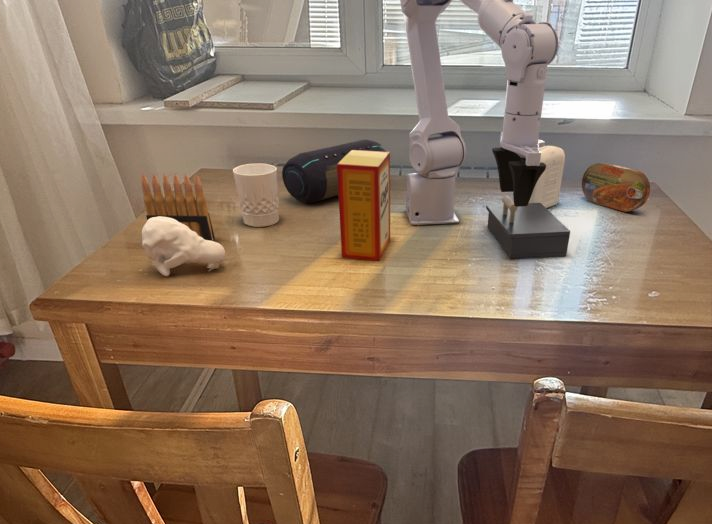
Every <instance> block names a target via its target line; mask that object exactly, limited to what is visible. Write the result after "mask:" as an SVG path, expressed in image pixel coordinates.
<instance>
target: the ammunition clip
mask: <svg viewBox="0 0 712 524" xmlns="http://www.w3.org/2000/svg"><path fill="white" fill-rule="evenodd" d="M193 179H194V180H193V183H194V191H193V186H192V183H191V180H190V178H189V176H188V175H187V173H185V174H184V176H183V187H184V192H183V189H182V184H181V181H180V180H179V177H178V175H177V174H176V173H174V174H173V179H172V183H173V190H174V192H173V190H172V185H171V183H170V180H169V178H168V176H167V175H166V173H163V175H162V186H163V191H162V188H161V186H160V182H159V180H158V177H157V176H156V174H155V173H152V176H151V184H152V190H151V188H150V183H149V181H148V178H147V176H146V175H145V173H141V177H140V180H141V181H140V183H141V189H142V195H143V197H142V198H143V203H144V207H145V212H146V221H147V220H148V219H150V218H152V217H158V216H162V217H169V218H173V219H175V220H177V221H178V222H180V223H182V224H184V225H186V226H187V227H189V229H190V230H192V231H194V232H196V233H197V234H198V236H200V237H202V238H203V239H205V240H210V241H214V242H215V240H216V237H215V232H214V228H213V224H212V220H211V215H210V212H209V209H208V204H207V199H206V196H205V193H204V190H203V185H202V181H201V179H200V177H199V176H198V174H197V173H195V174H194V178H193ZM152 192H153V193H152ZM163 193H164V195H163ZM194 193H195V195H194Z"/></svg>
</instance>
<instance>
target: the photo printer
mask: <svg viewBox="0 0 712 524" xmlns="http://www.w3.org/2000/svg"><path fill="white" fill-rule="evenodd" d="M539 151H540V152H541V159H540V163H544V164H546V169H545V171H544V172H543V173H542V175H541V176H540V178H539V179H538V181H537V183H536V185H535V187H534V190H533V193H532V195H531V198H530V201H529V203H541V204H542V205H543V206H544V207H545V208H546V209H548V208H551V207H553V206H556V205H557V204H558V203H559V199H560V193H561V188H562V187H561V186H562V180H563V174H564V168H565V162H566V154H565V151H564V149H563V148H561V147H559V146H555V145H545V146H544V147H539Z"/></svg>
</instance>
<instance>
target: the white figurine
mask: <svg viewBox="0 0 712 524" xmlns="http://www.w3.org/2000/svg"><path fill="white" fill-rule="evenodd" d="M141 241H142V243H141V248H142V249H143V250H144V251H145V254H146V256H147V259H148V260H150V262H151V264H152V265H153V267H154V268H155V269H156V270H157V271H158V273H160V274H161V275H162V276H164V277H169V276H170V274H171V269H173V268H177V267H178V266H181V265H183V264H191V263H194V262H196V263H204V264H206V265H207V267H205V268H207V269H208V272H210V271H212V270H214V269H217V270H219V267H220V265H221V264H222V263H223V262H224V261H225V260H226V250H225V248H224V246H223V245H222V244H220V243H219V242H217V241H215V240H214V241H210V240H205V239H203V238H202V237H200V236H198V234H197V233H196V232H194V231H192V230H190V229H189V227H187V226H186V225H184V224H182V223H180V222H178V221H177V220H175V219H173V218H169V217H162V216H158V217H152V218H150V219H148V220H147V219H146V222H145V223H144V225H143V227H142V230H141Z"/></svg>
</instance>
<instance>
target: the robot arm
mask: <svg viewBox="0 0 712 524" xmlns="http://www.w3.org/2000/svg"><path fill="white" fill-rule="evenodd" d="M399 1H400V8H401V12H402V14H403V22H404V29H405V35H406V43H407V49H408V56H409V61H410V69H411V73H412V74H411V75H412V80H413V86H414V87H413V88H414V93H415V100H416V106H417V113H418V114H417V115H418V120H419V121H418V122H417V124H416V125H415V126H414V128H413V129H412V130H411V131H410V132H409V134H408V137H409V152H408V157H409V158H408V159H409V163H410V165H411V168H412V170H414V172H413V173H407V175H406V183H405V184H406V186H405V188H406V189H405V191H406V192H405V195H406V197H405V198H406V199H405V213H406V216H407V218H408V220H409V223H410V225H412V226H421V225H423V226H424V225H443V224H445V225H447V224H459V223H460V220H459V218H458V216H457V215H456V214H455V213H456V212H455V199H456V198H455V196H456V180H457V179H456V178H457V173H460V168H461V167H462V166H463V165H464V163H465V161H466V158H467V147H466V143H465V140H464V139H463V137H462V134H461V133H462V132H461V127H460V125H459V124H458V123H456V121H454V120H453V119H452V118H451V117H450V116H449V113H448V106H447V98H446V97H447V96H446V90H445V82H444V75H443V68H442V62H441V61H442V60H441V54H440V53H441V52H440V48H439V47H440V46H439V40H438V32H437V25H436V22H437V19H438V17H439V16H440V15H442V13H444V12H445V11H446V10H447V8H448V7H449V5H450V4H451V3H452V2H453V0H399ZM458 1H459V2H460V3H462V4H463V5H464V6H465V7H466V8H468V9H469V10H470V11H471V12H473V13H474V14H476V16H477V26H478V28H479V29H480V30H481V31H482V32H483V33H484V34H485V35H486V36H487V37H488V38H489V39H490V40H491V41H492V42H494V44H495V45H497V46H498V47H499V48H500V49H501V51H500V52H501V57H502V60H503V63H504V67H505V70H504V76H505V79H506V90H505V91H506V92H505V103H504V110H503V111H504V113H503V123H502V131H500V134H499V135H500V136H499V146H500V147H493V148H492V149H491V151H492V154H493V156H494V159H495V163H496V166H497V173H498V182H499V189H500V192H501V193H512V200H513V202H514V205H515V206H516V207H519V206H528V203H529V201H530V198H531V195H532V193H533V190H534V187H535V185H536V183H537V181H538V179H539V178H540V176H541V175H542V173H543V172H544V171H545V169H546V164H544V163H540V159H541V152H540V151H539V148H541V147H544V146H546V142H545V141H544V140H543V139H539V137H540V129H541V120H542V114H543V113H542V112H543V104H544V97H545V88H546V81H547V73H548V65H550V64H551V63H552V62H553V61H554V60H555V59H556V56H557V54H558V50H559V36H558V32H557V30H556V29H555V28H554V27H553V25H552V23H550V22H549V21H541V22H537V21H536V20H535V19H533V18H534V16H533V14H532V13H531V12H529V11H524V10H523V9H522V7H520V6H519V5H518V4H517V3H516V2H514V0H458ZM434 135H439V136H435V137H434ZM430 136H433V137H430Z"/></svg>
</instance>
